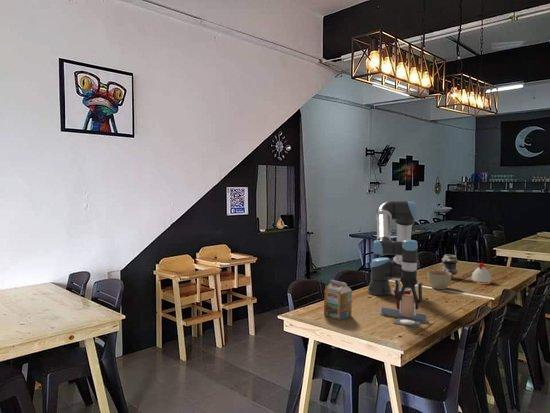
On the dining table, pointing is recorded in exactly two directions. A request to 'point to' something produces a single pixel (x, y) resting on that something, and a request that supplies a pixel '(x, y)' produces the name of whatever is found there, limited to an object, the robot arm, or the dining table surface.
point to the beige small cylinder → (407, 305)
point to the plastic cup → (407, 291)
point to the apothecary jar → (449, 264)
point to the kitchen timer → (481, 275)
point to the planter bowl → (439, 279)
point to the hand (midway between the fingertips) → (407, 313)
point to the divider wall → (396, 313)
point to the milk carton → (337, 300)
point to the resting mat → (407, 322)
